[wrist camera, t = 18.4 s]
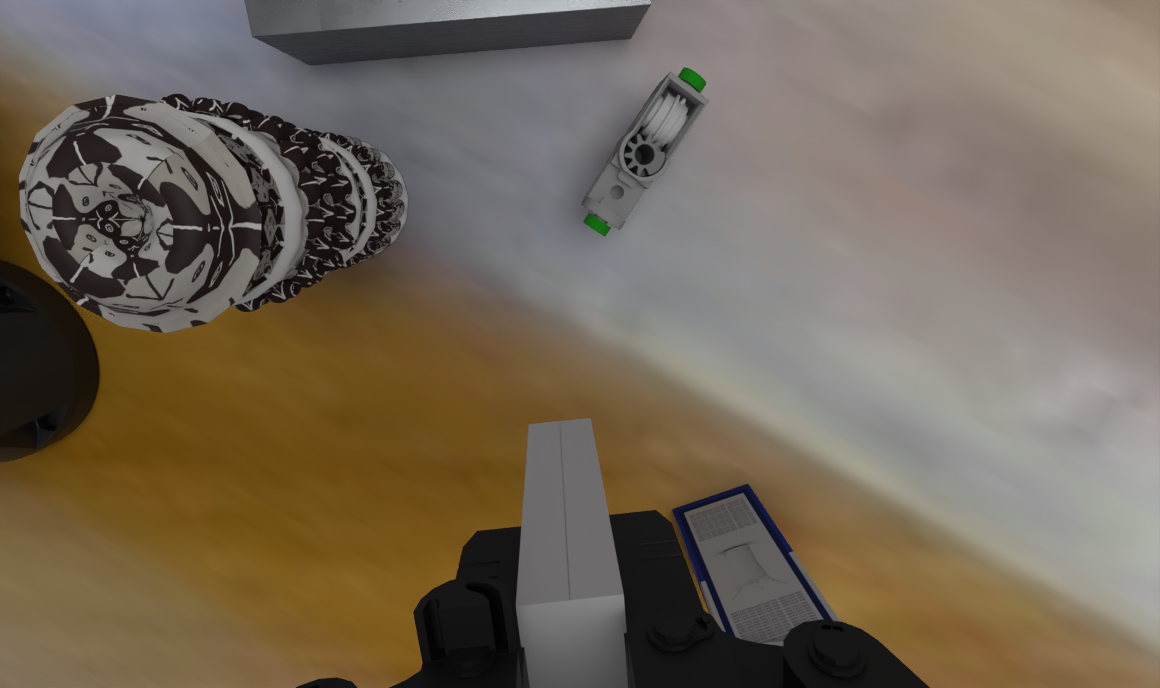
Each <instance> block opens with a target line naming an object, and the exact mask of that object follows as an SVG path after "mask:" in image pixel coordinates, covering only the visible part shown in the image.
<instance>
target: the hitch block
mask: <svg viewBox="0 0 1160 688" xmlns="http://www.w3.org/2000/svg"><path fill="white" fill-rule="evenodd" d="M245 4H246V9H247V14H248V19H249V24H250V29H251V34H252V37H254V38H256V39H258V40H260V41H262V42H264V43H266V44H268V45H270V46H272V47H274V48H276V49H278V50H280V51H282V52H284V53H286V54H288V55H290V56H292V57H294V58H296V59H299V60H301V61H303V62H305V63H307V64H309V65H319V64H331V63H343V62H355V61H367V60H379V59H391V58H403V57H415V56H427V55H439V54H451V53H463V52H475V51H487V50H499V49H512V48H524V47H536V46H548V45H560V44H572V43H584V42H596V41H608V40H620V39H631V37H632V36H633V34H634V32H635V30H636V29H637V27H638V25H639V24H640V22H641V20H642V19H643V17H644V15H645V13H646V12H647V10H648V8H649V7H650V5H651V0H245Z"/></svg>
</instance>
